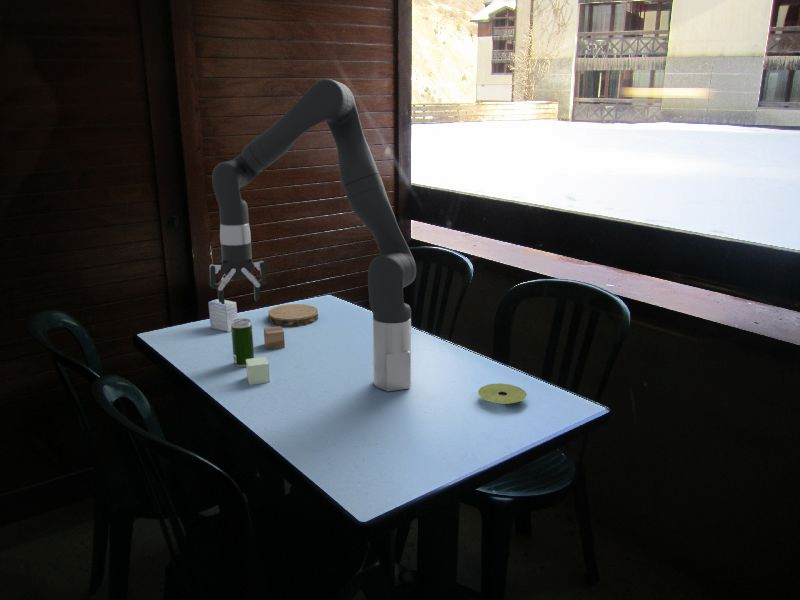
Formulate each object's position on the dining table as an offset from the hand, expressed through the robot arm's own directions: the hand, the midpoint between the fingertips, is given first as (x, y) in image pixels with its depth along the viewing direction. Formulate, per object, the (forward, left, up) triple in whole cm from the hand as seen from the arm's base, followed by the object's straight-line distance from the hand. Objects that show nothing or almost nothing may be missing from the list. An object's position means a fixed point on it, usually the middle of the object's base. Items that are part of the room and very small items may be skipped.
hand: (239, 302), depth 172 cm
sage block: (-12, -2, -17) cm, 21 cm away
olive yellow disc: (-44, -54, -18) cm, 72 cm away
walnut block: (+11, -10, -17) cm, 23 cm away
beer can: (0, 0, -18) cm, 18 cm away
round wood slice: (+34, -20, -18) cm, 43 cm away
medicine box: (+32, +2, -18) cm, 36 cm away
